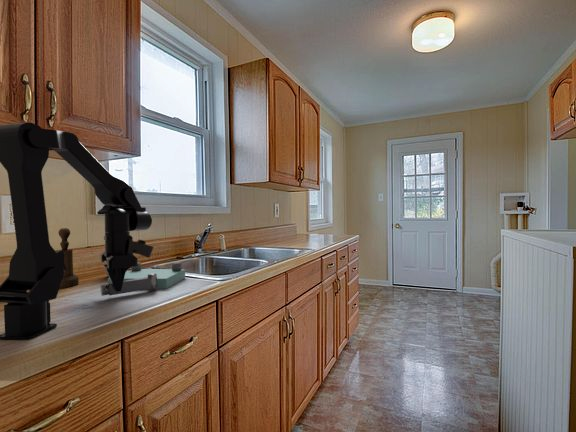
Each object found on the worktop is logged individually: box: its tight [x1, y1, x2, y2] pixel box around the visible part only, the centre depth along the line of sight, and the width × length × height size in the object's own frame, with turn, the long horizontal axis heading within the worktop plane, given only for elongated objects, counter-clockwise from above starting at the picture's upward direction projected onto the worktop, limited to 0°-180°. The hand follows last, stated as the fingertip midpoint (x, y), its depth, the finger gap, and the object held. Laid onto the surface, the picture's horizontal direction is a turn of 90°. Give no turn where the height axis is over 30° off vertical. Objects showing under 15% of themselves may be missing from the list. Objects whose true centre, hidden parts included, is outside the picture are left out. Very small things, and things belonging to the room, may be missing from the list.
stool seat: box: [107, 261, 186, 290], centre depth 98 cm, size 14×18×6 cm
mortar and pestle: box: [57, 227, 79, 289], centre depth 96 cm, size 7×6×18 cm
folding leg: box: [100, 273, 158, 297], centre depth 84 cm, size 14×3×4 cm, turn 131°
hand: (118, 291), depth 80 cm, fingers closed
